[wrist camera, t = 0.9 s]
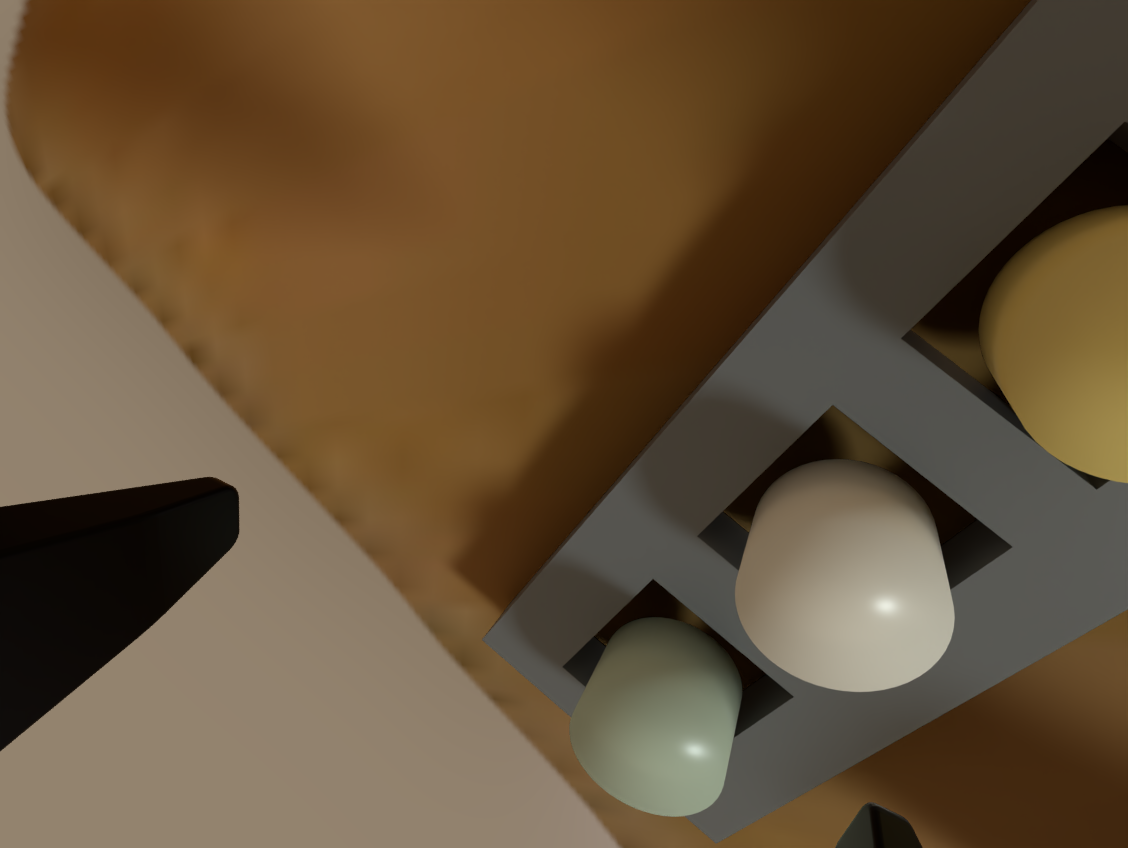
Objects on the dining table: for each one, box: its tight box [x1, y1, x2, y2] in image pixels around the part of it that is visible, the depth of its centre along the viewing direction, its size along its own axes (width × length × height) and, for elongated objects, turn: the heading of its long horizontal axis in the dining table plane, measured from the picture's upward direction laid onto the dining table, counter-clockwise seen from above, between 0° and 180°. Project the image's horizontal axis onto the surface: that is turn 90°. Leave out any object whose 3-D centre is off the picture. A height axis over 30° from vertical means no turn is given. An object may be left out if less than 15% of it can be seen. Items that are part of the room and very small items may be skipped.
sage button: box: [570, 617, 742, 817], centre depth 19 cm, size 4×4×3 cm
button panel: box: [482, 0, 1128, 843], centre depth 17 cm, size 10×22×2 cm, turn 146°
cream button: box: [735, 459, 955, 692], centre depth 15 cm, size 4×4×3 cm
